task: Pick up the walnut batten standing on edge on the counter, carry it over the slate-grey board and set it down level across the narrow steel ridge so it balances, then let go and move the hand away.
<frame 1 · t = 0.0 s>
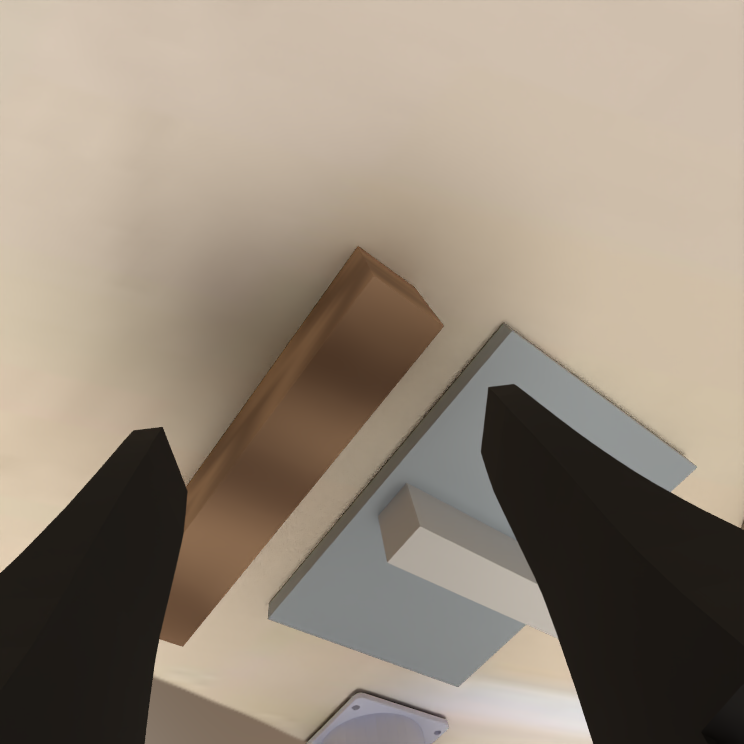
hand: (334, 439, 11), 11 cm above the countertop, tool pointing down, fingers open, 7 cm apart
ridge board: (474, 530, 27), on the countertop
walnut batten: (270, 422, 23), on the countertop
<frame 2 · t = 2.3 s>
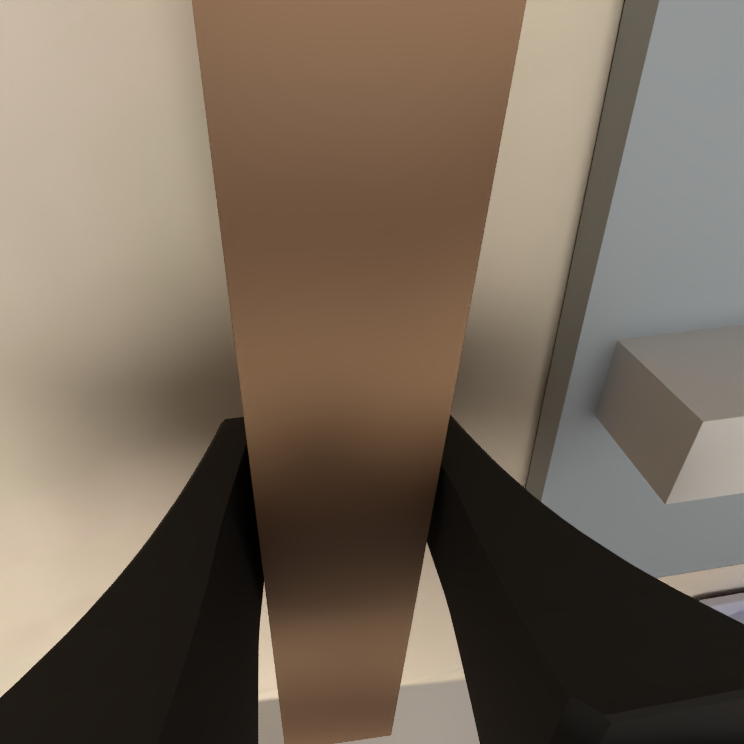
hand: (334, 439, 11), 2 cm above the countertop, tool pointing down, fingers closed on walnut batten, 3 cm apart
walnut batten: (327, 383, 13), on the countertop, touching gripper
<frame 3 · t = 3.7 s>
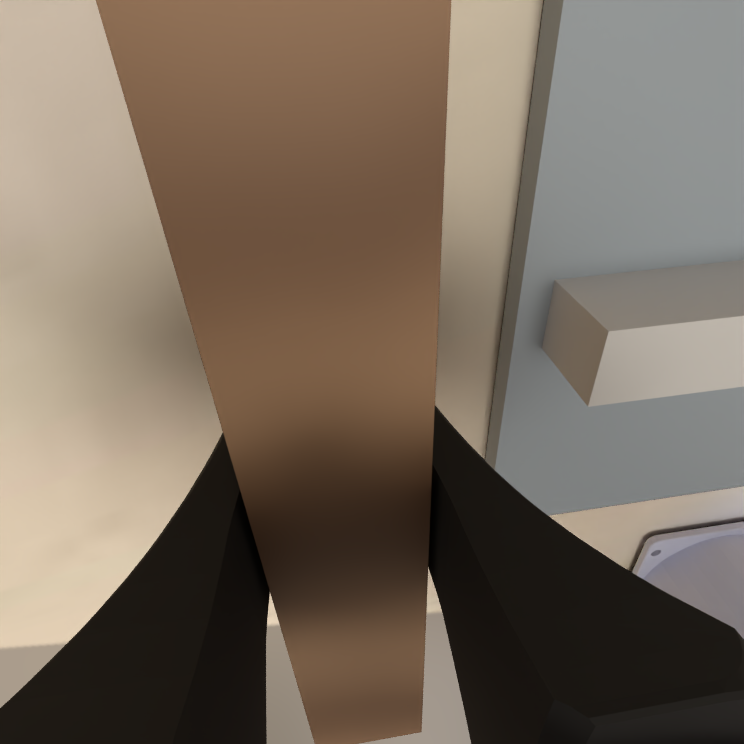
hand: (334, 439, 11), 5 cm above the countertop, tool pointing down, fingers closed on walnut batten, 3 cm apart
ridge board: (706, 282, 17), on the countertop
walnut batten: (328, 385, 13), point 3 cm above the countertop, touching gripper
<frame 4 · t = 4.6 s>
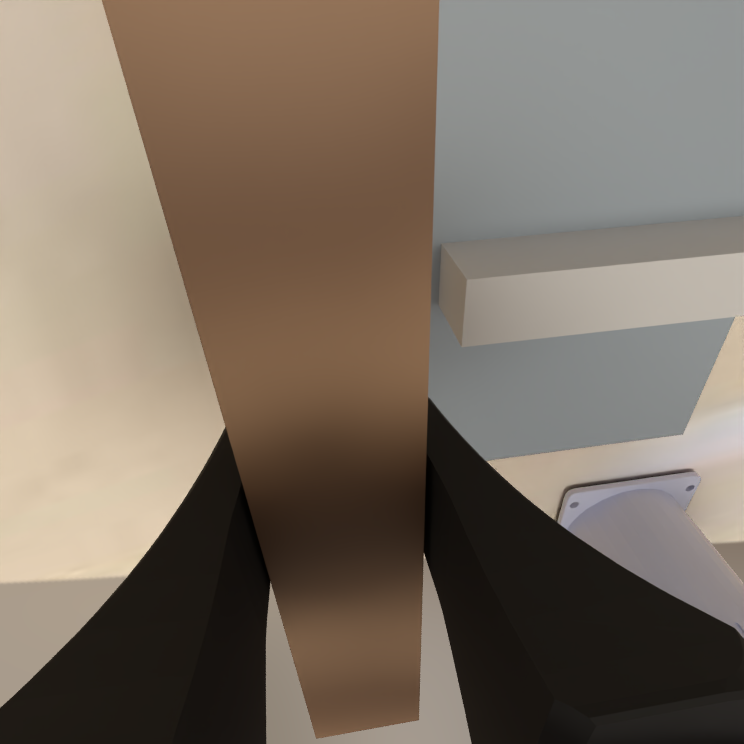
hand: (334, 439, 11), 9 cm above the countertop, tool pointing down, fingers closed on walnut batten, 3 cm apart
ridge board: (583, 250, 19), on the countertop
walnut batten: (326, 379, 13), point 6 cm above the countertop, touching gripper
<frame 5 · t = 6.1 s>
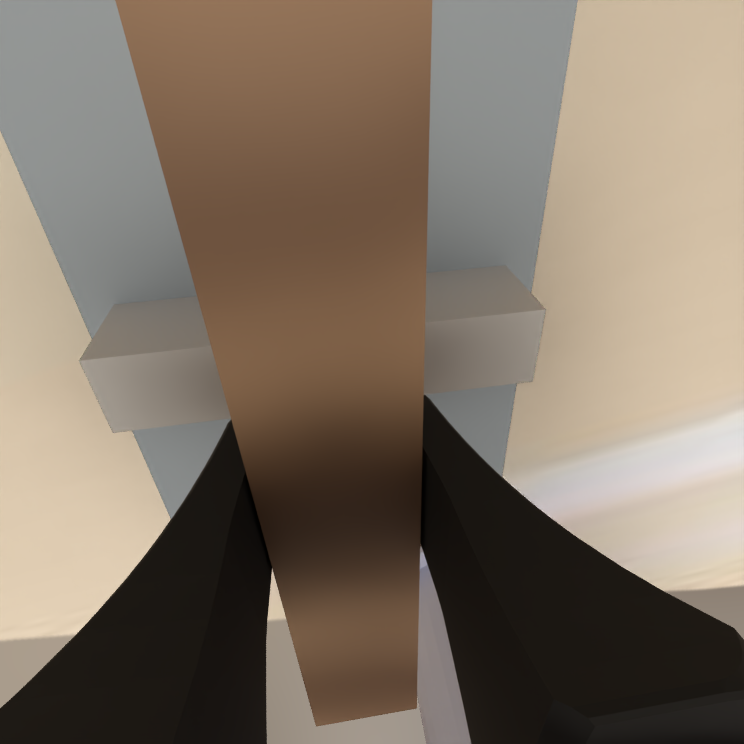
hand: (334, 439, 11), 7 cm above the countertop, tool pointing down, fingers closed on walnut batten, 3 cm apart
ridge board: (319, 304, 17), on the countertop
walnut batten: (326, 373, 13), point 4 cm above the countertop, touching gripper, ridge board
when the fingers open (7 cm above the countertop, at t = 7.0 s): walnut batten stays where it is, resting on ridge board.
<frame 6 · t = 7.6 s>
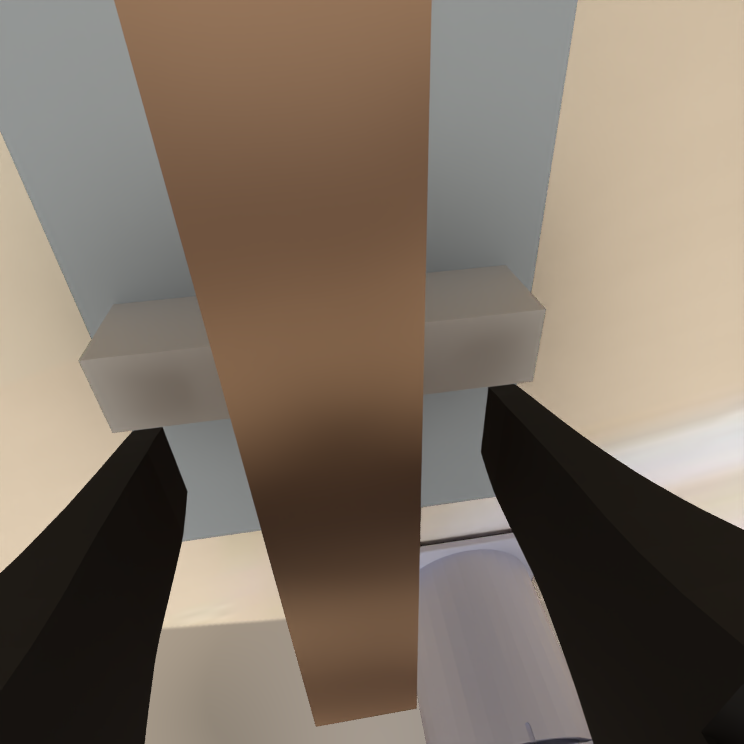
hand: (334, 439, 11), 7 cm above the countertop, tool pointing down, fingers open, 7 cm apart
ridge board: (318, 304, 17), on the countertop
walnut batten: (326, 373, 13), point 4 cm above the countertop, touching ridge board
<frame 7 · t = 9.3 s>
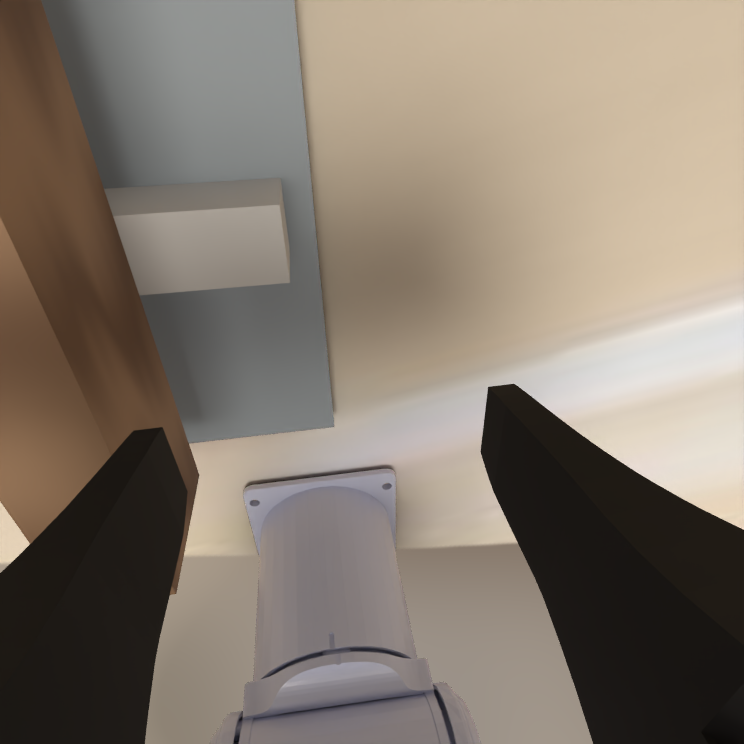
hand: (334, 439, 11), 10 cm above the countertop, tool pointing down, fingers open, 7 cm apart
ridge board: (112, 216, 17), on the countertop
walnut batten: (72, 263, 14), point 4 cm above the countertop, touching ridge board
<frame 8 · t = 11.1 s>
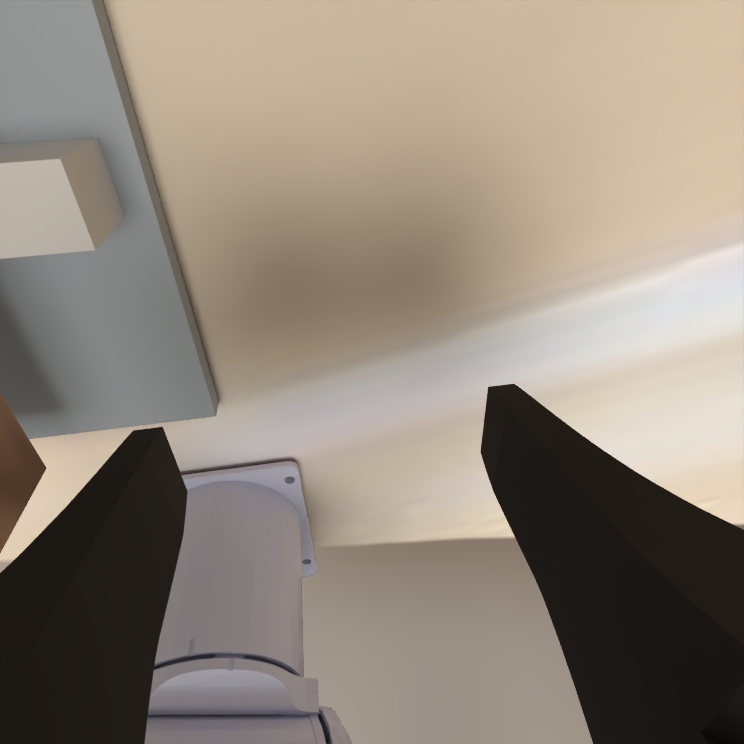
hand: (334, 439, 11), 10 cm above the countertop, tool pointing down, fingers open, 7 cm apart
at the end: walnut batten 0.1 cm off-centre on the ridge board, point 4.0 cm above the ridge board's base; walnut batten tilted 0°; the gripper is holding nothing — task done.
